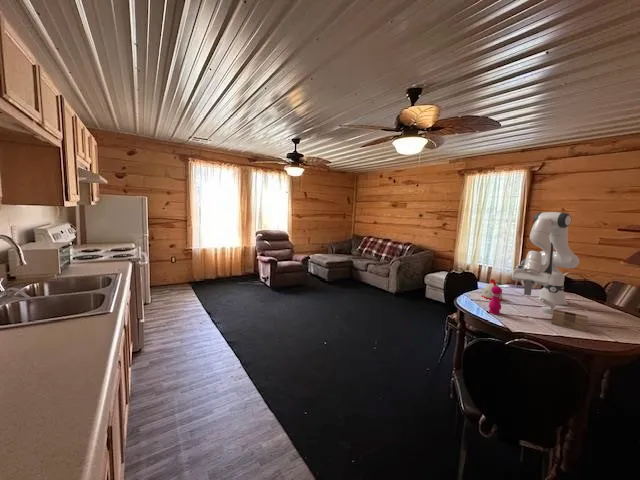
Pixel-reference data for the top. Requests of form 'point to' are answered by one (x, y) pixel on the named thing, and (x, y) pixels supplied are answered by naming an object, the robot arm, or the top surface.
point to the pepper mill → (495, 300)
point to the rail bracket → (528, 287)
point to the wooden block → (570, 320)
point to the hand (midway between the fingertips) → (528, 287)
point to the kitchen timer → (489, 291)
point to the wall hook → (547, 309)
